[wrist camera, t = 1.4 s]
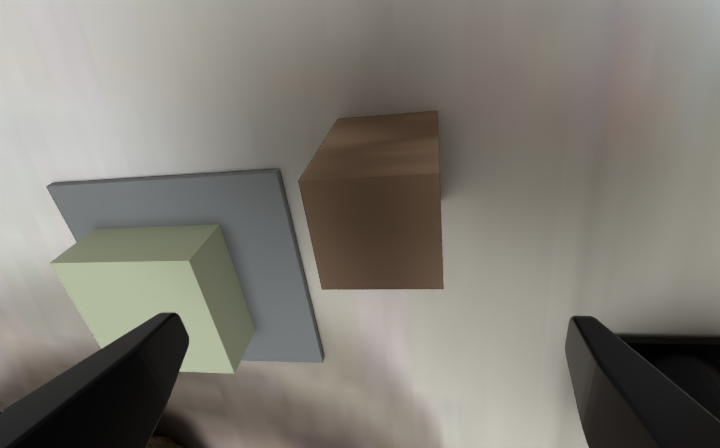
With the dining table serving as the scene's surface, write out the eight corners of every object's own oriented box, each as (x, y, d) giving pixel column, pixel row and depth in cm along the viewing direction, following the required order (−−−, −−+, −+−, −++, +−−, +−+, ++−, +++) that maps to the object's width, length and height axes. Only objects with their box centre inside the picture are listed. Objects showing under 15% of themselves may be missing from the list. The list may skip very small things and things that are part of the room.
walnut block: (437, 110, 16) (439, 173, 11) (440, 200, 18) (443, 288, 13) (338, 118, 17) (298, 180, 12) (351, 204, 19) (322, 289, 14)
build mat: (279, 169, 19) (276, 172, 18) (324, 357, 25) (322, 362, 24) (52, 183, 21) (46, 186, 20) (143, 352, 27) (140, 357, 26)
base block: (219, 224, 20) (189, 260, 18) (255, 330, 24) (234, 373, 21) (94, 229, 21) (49, 263, 19) (146, 328, 25) (114, 368, 22)
